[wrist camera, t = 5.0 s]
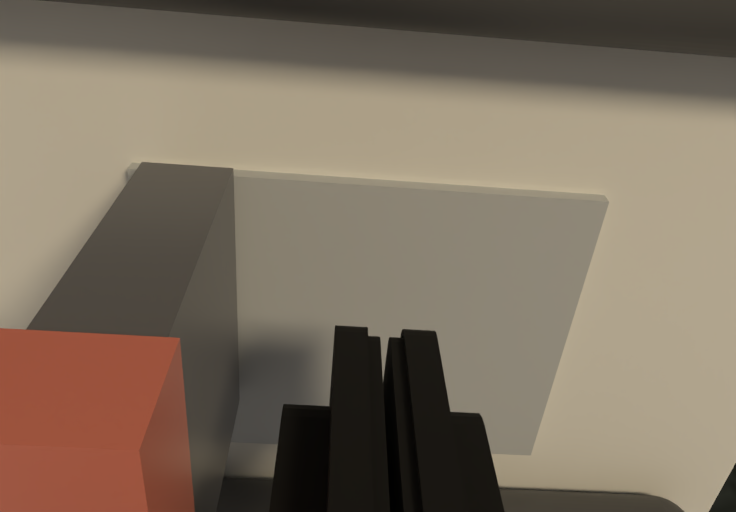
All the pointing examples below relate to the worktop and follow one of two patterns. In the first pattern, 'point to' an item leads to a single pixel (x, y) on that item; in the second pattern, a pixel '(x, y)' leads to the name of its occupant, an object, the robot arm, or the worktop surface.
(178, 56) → the breaker box
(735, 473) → the worktop surface
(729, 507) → the worktop surface
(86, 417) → the breaker handle
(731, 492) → the worktop surface
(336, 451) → the robot arm
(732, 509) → the worktop surface
